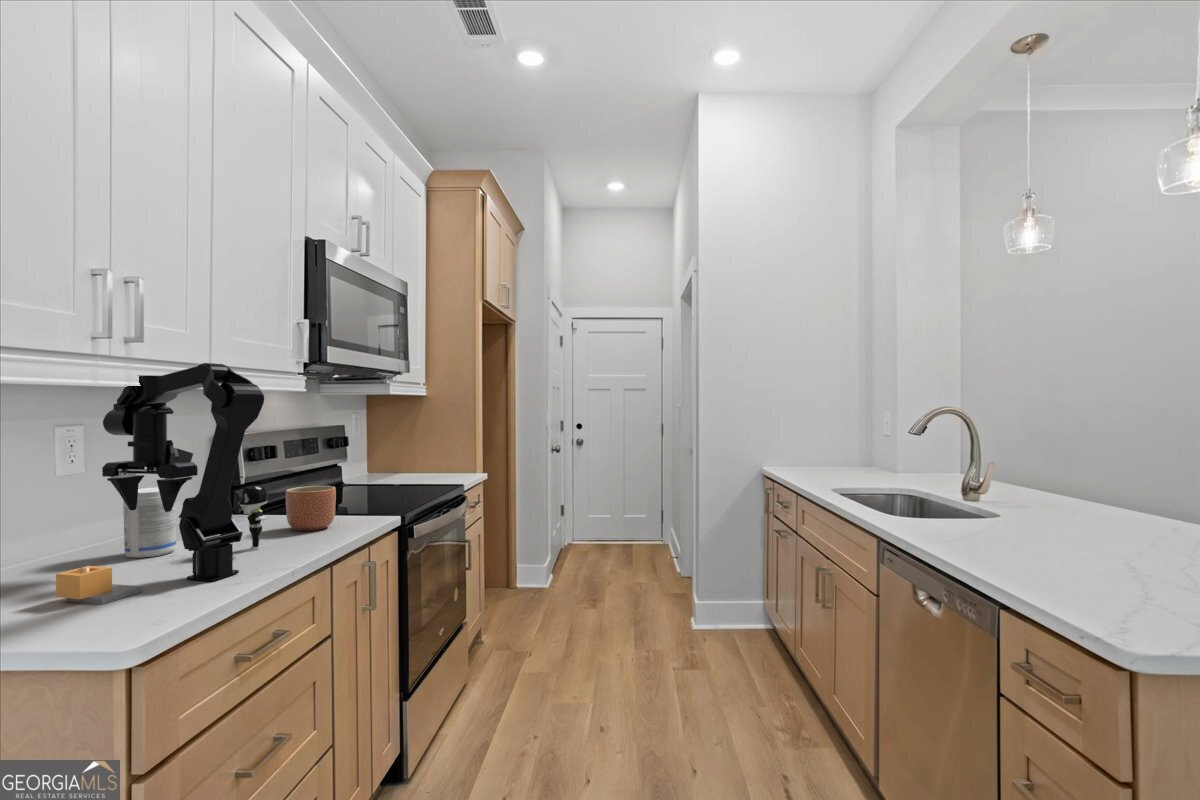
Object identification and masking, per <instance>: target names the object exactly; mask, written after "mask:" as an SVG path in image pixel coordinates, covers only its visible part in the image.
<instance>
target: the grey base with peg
mask: <svg viewBox="0 0 1200 800" xmlns="http://www.w3.org/2000/svg"><path fill="white" fill-rule="evenodd" d="M78 568H79V574H83V573H87V572H90V567H86V566H83V567H78ZM142 589H143V586H141V585H129V584H128V585H127V584H119V583H118V584H117V583H112V590H110V591H107V592H103V593H100V594H96V595H93V596H90V597H86V598H83V599H71V598H66V602H74V603H84V604H85V603H86V604H95V605H96V604H97V605H105V604H108V603H111V602H114V601H118V600H120V599H123V598H128V597H129V596H133V595H136V594H139V593H142V591H143V590H142Z"/></svg>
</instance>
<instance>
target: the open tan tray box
mask: <svg viewBox="0 0 1200 800" xmlns="http://www.w3.org/2000/svg"><path fill="white" fill-rule="evenodd" d="M85 567H90V572H87V573H83V574H79V568H80V567H78V568H75V569H70V570H66V571H62V572H59V573H56V574H55V598H59V599H60V598H63V599H67V598H71V599H83V598H86V597H90V596H93V595H96V594H100V593H103V592H107V591H110V590H112V584H113V568H112V567H109V566H99V565H98V566H97V565H95V566H94V565H86V566H85Z"/></svg>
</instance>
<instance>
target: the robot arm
mask: <svg viewBox="0 0 1200 800" xmlns="http://www.w3.org/2000/svg"><path fill="white" fill-rule="evenodd" d="M138 376H139V383H140V385H141V386H127V387H125V386H124V388H123V390H122V391H121V394H120V395H119V396H118V398H117V399H116V403H114V404H113V408H112V409H111V410H110V411H108V412H107V413H106V414H105V416H104V418H103V419H102V425H103V428H104V430H105V431H106V432H107V433H109V434H110V435H112V436H128V437H129V436H130V437H131V436H132V440H131V441H127V447H130V448H131V447H132V460H123V461H122V460H121V461H113V462H112V461H111V462H106V463H105V464H104V465H103V466H102V469H101V471H102V477H105V478H106V477H107V478H106V479H107V481H108V482H110V483H111V484H112V485H113V487H114V488H115V490H116V491H117V492H118V494H119V495H120V497H121V499H122V500H124V502H125V503H126V505H127V506H128V508H129V510H136V507H137V499H138V489H139V484H140V483H141V481H142V480H143V479H144V477H145V474H147V475H151V474H152V475H157V476H158V477H159V478H160V479H157V480H156V485H157V487H158V488H159V492H160V496H161V500H162V504H163V507H164V510H165V512H170V511H171V510H172V508H173V505H174V503H175V504H176V500H177V497H178V495H179V492H180V491H181V488H182V487H183V485H185V483H187V482H188V481H191V480H193V477H195V476H198V475H199V474H198V473H199V472H198V471H199V470H198V465H197V464H196V463H195V462H194V461H193V462H192V459H193V457H194V452H191V451H188V450H184V449H181V448H176V447H174V441H173V440H171V439H168V415H173V414H174V413H175V412H174V410H173V409H172V408H171V407H169V405H167V403H169V402H171V401H173V400H175V399H176V398H177V397H178V395H179V394H182V393H186V392H189V391H193V390H197V389H201V388H202V391H203V395H204V396H205V397H206V398H207V399H208V400H209V401H210V403H211V407H210V412H211V415H212V418H213V420H214V421H215V424H216V426H215V430H214V433H213V438H212V441H211V445H210V448H209V453H208V456H207V460H206V464H205V468H204V472H203V475H202V480H201V483H200V487H199V491H198V493H197V494H196V495H195V496H193V497H187V498H184V500H183V502H182V507H181V508H182V509H181V511H180V514H179V515H178V518H179V525H178V527H179V532H180V533H179V534H180V536H181V540H182V545H183V547H184V550H188V551H189V552H192V575H188V576H186V580H191V581H202V582H203V581H204V582H214V581H218V580H222V579H224V578H227V577H230V576H234V575H236V574H238V573H240V569H239V570H238V569H233V562H234V561H233V559H234V558H233V553H234V552H233V543H240V542H241V541H242V536H243V532H244V531H243V530H242V529H241V527H240V526H239V525H238V524H237V522H236V521H235V519H234V518H233V512H234V511H233V510H234V508H233V505H232V503H231V502H230V499H229V492H230V488H231V485H232V481H233V477H234V473H235V470H236V466H237V463H238V458H239V455H240V452H241V449H242V444H243V440H244V437H245V433H246V431H247V429H248V428H249V427H250V426H251V425H252V424H253V423H254V422H255V421H257V418H258V417H259V416H260V412H261V411H262V408H263V406H264V403H265V395H264V393H263V392H262V390H261V388H260V387H259V386H258V385H257V384H254V383H253V382H252V381H251V380H249V379H248V378H247V377H244V376H242V375H240V374H239V373H238V372H237V373H236V372H235V371H233V370H232V369H231V368H230V367H229V366H227V365H226V364H223V363H215V362H214V363H212V362H211V363H210V362H203V363H200V364H198V365H197V366H192V367H190V368H189V367H188V368H185V369H181V370H178V371H174V372H173V371H172V372H170V373H167V374H162V375H138Z"/></svg>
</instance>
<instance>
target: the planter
mask: <svg viewBox="0 0 1200 800" xmlns="http://www.w3.org/2000/svg"><path fill="white" fill-rule="evenodd" d="M336 489H337V488H336V487H335V486H331V485H310V486H307V485H306V486H298V487H292V488H288V489H286V490H285V509H286V511H285V512H286V521H287V523H288V525H289V527H291V528H292V529H293V530H295V531H298V532H313V531H319V530H323V529H326V528H328V527H329V526H330V525H331V524H332V523H333V521H334V520H335V517H336V500H337V490H336Z"/></svg>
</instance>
